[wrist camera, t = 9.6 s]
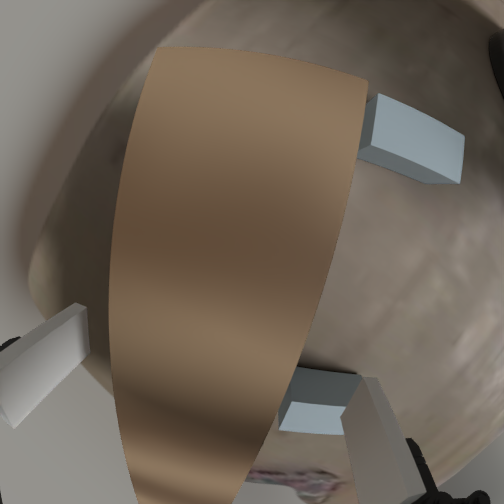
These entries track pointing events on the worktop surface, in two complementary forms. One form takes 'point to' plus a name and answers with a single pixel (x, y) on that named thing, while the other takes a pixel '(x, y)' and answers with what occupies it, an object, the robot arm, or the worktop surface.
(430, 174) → the posts
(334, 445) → the worktop surface
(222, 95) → the plank
